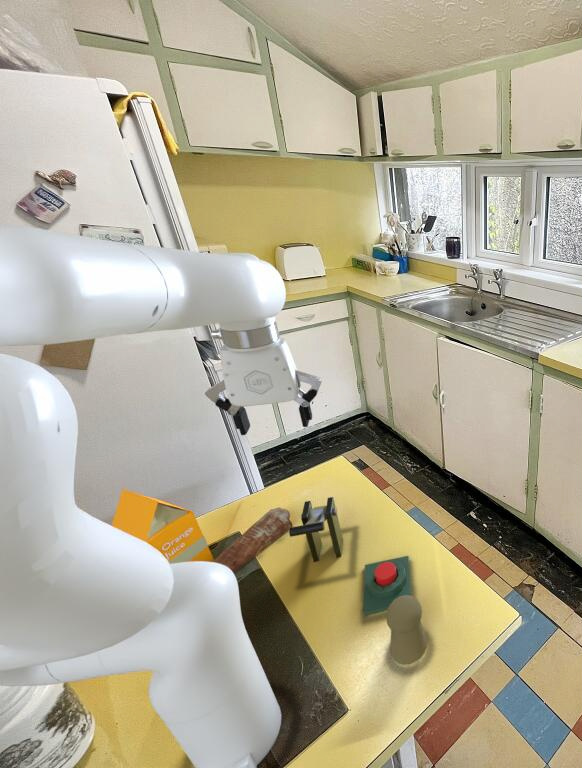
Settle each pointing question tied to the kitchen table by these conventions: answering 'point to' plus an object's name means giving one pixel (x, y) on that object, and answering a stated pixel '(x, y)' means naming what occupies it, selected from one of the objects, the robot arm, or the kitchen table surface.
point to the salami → (255, 539)
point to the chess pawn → (406, 630)
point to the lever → (311, 523)
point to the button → (385, 573)
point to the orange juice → (162, 527)
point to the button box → (383, 596)
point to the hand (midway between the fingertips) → (276, 427)
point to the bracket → (334, 530)
